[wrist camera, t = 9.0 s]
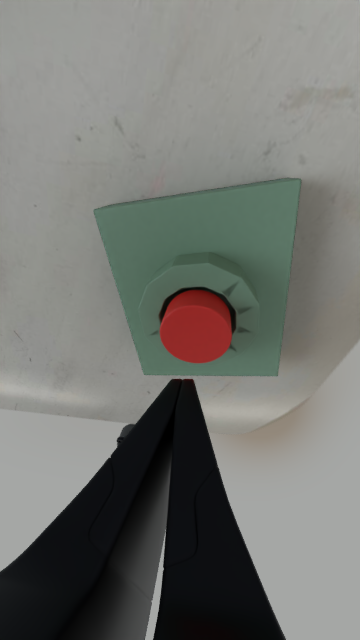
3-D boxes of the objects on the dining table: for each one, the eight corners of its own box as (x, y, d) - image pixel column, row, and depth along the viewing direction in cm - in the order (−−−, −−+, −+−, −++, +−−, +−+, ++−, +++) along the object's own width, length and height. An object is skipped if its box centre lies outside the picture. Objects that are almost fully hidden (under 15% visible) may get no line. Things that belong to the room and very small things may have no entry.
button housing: (271, 355, 18) (283, 397, 14) (150, 356, 20) (137, 393, 16) (289, 177, 12) (317, 179, 8) (109, 204, 14) (73, 215, 10)
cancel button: (231, 343, 13) (232, 364, 12) (171, 344, 14) (165, 364, 12) (229, 286, 11) (231, 303, 10) (160, 291, 12) (152, 307, 11)
